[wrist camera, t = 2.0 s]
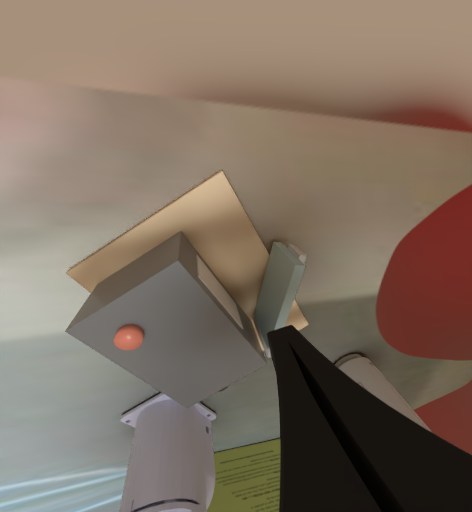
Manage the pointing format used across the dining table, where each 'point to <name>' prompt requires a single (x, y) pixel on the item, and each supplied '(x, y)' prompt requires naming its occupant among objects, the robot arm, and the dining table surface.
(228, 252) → the beech board
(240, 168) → the dining table surface
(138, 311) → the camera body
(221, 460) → the protein box
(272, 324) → the grey-green rectangular block
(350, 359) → the energy drink can
